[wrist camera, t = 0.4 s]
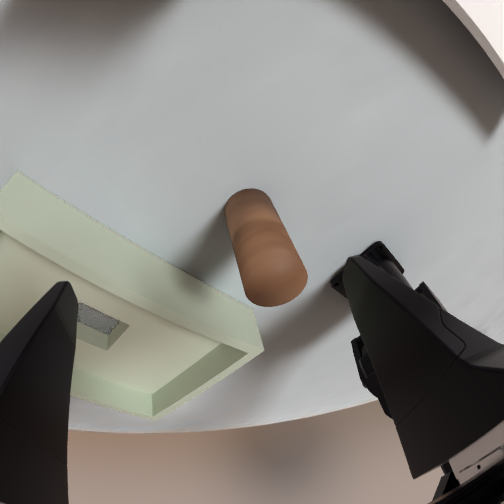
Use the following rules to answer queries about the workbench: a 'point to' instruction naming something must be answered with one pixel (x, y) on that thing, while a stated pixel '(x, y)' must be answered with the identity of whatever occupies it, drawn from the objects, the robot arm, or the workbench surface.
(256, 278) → the peg
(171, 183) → the workbench surface
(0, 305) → the box
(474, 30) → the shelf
